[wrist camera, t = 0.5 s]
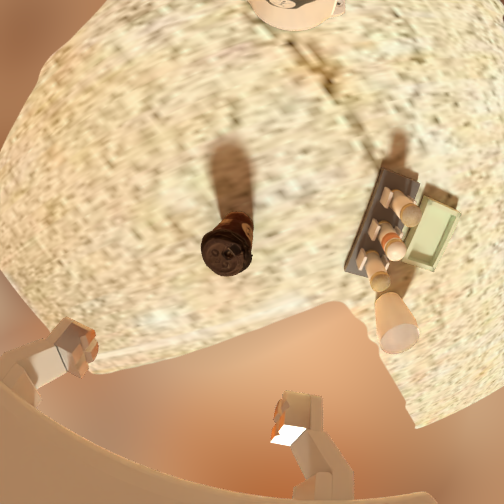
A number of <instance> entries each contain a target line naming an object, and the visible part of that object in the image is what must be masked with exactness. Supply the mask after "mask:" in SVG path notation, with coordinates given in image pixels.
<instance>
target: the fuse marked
mask: <svg viewBox="0 0 504 504" xmlns="http://www.w3.org/2000/svg"><path fill="white" fill-rule="evenodd" d="M378 223H379V225H380V226H381V227H380V229H379V232H378V234H377V236H376V237H377V238H378V240H379V242H380V244H381V246H382V248H383V250H384V252H385V253H386V255H387V257H388V259H389V260H391V261H399V260H401V259H402V258H403V257H404V256H405V254H406V250H407V249H406V246H405V244H404V242H403V241H402V240H401V238H400V237H399V235H398V234H397V233H396V231H395V230H394V229H393V227H392V225H391V224H390V223H389V222H388V221H386V220H382V221H379V222H378Z"/></svg>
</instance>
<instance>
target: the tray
mask: <svg viewBox="0 0 504 504" xmlns="http://www.w3.org/2000/svg"><path fill="white" fill-rule="evenodd" d="M419 208H420V210H421V212H422V218H421V221H420V222H419V224H417V225H416V226H414V227H411V228H410V231H409V233H408V235H407V238H406V240H405V242H404V244H405V246H406V249H407V250H406V254H405V256H404V257H403V258H402V259H401V262H403V263H407V264H410V265H413V266H417V267H420V268H423V269H426V270H429V271H433V272H434V271H435V269H436V267H437V265H438V263H439V261H440V259H441V257H442V255H443V253H444V251H445V249H446V247H447V245H448V243H449V241H450V239H451V237H452V235H453V232H454V230H455V228H456V226H457V223H458V221H459V219H460V216H461V213H460V212H459V211H457V210H456V209H454V208H452V207H450V206H448V205H445V204H443V203H441V202H439V201H436V200H434V199H432V198H430V197H427V196H425V195H424V196H423V199H422V202H421V204H420V207H419Z"/></svg>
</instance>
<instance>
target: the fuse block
mask: <svg viewBox="0 0 504 504" xmlns="http://www.w3.org/2000/svg"><path fill="white" fill-rule="evenodd" d="M419 186H420V183H419V182H417V181H415V180H412V179H410V178H408V177H405V176H403V175H400V174H398V173H395V172H393V171H390V170H387V169H385V168H382V169H381V172H380V175H379V178H378V181H377V184H376V187H375V189H374V192H373V195H372V198H371V201H370V203H369V206H368V209H367V212H366V214H365V217H364V220H363V222H362V225H361V227H360V230H359V232H358V235H357V238H356V240H355V242H354V245H353V247H352V250H351V252H350V255H349V257H348V259H347V262H346V264H345V266H344V270H345V272H349V273H352V274H356V275H360V276H364V277H368V275H367V272H366V269H365V266H364V264H365V262H366V259H367V255H366V253H365V252H366V251H368V250H375V251H377V252H378V254H379V256H380V258H381V260H382V263H383V265H384V267H385V269H386V271H387V269H388V267H389V264H390V263H389V261H388V260H389V259H388V257H387V255H386V253H385V252H384V250H383V248H382V246H381V244H380V242H379V240H378V238H377V237H376V236H377V234H378V232H379V229H380V227H381V226H380V225H379V223H378V222H379V221H382V220H386V221H388V222H389V223H390V224H391V225H392V227H393V229H394V230H395V231H396V233H397V234H398V235H399V237H400V238H401V239H402V236H403V233H402V229H403V227H404V223H403V222H402V221H401V219H400V218H399V217H398V216H397V215H396V213H395V212H394V211H393V210H392V209H391V208H390V207H389V204H390V201H391V198H392V196H393V192H392V191H391V190H393V189H398V190H400V191H401V192H402V193H403V194H404V195H405V196H406V197H408V198H409V199H410V200H411V201H412V202H413V203H414V204H415V205H416V203H417V202H416V201H415V200H414V199H415V197H416V194H417V191H418V189H419Z"/></svg>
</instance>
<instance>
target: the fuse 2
mask: <svg viewBox="0 0 504 504" xmlns="http://www.w3.org/2000/svg"><path fill="white" fill-rule="evenodd" d="M391 191H392V192H393V196H392V198H391V201H390V204H389V207H390V208H391V209H392V210H393V211H394V212H395V213H396V215H397V216H398V217H399V218H400V219H401V221H402V222H403V223H404V225H406V226H407V227H414V226H416V225H417V224H419V222H420V221H421V218H422V212H421V210H420V208H419V207H418V206H417V205H415V204H414V203H413V202H412V201H411V200H410V199H409V198H408V197H406V196H405V195H404V194H403V193H402V192H401V191H400V190H398V189H393V190H391Z"/></svg>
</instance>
